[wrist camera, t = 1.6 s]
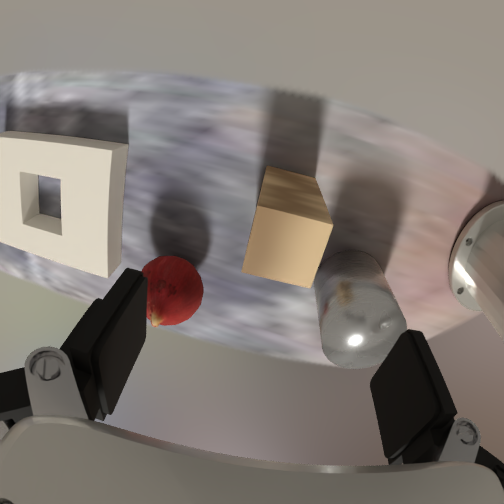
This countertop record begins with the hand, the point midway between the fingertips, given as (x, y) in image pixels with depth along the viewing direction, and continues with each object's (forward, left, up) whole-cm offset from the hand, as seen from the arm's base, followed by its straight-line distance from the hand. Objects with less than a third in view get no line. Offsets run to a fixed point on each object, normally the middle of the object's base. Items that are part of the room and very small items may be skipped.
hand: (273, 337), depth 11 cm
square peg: (0, 0, -17) cm, 17 cm away
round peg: (0, +11, -17) cm, 20 cm away
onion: (+12, 0, -17) cm, 21 cm away
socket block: (+17, -14, -17) cm, 28 cm away
